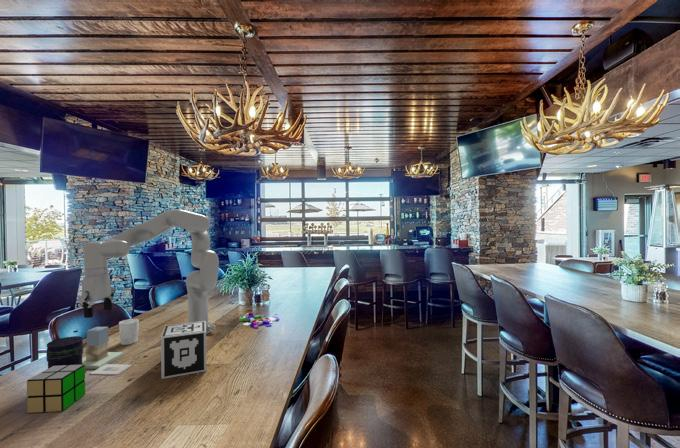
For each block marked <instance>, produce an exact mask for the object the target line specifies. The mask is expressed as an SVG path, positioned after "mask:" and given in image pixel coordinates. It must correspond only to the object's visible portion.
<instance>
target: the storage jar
mask: <svg viewBox="0 0 680 448" xmlns="http://www.w3.org/2000/svg"><path fill="white" fill-rule="evenodd" d="M78 332H79V331H78V330H73V333H78ZM83 355H84V338H83V336H77V335H75V336H66V337H61V338H57V339H53V340H51V341H49V342H48V343H46V361H47V369H49V368H50V367H52V366H61V365H68V366H69V365H83V363H82V358H83Z"/></svg>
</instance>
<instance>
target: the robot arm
mask: <svg viewBox="0 0 680 448" xmlns="http://www.w3.org/2000/svg"><path fill="white" fill-rule="evenodd" d="M210 226H211V222H210V219H209V218H208V217H207V216H205V215H203V214H200V213H197V212H196V213H195V212H193V211H192V212H191V211H188V210H184V209H180V208H179V209H178V208H177V209H167V210H165V211H163V212H161V213H159V214H157V215H155V216H153V217H151V218H150V219H148V220H146V221H144V222H141V223H140V224H137V225H135V226H133V227H130V228H128V229H126V230H124V231H122V232H120V233H118V234H115V235H114V236H112V237H110V238H108V239H106V240H105V241H88V242H85V243H83V246H82V251H83V266H84V267H83V268H84V270H83V271H84V276H83V278H82V283H81V295H80V296H79V297H78V298H77V301H78V303H79V305H80V306H81V308H82V309H83V314H84V315H83V316H84V318H85V319H87V318H89V319H90V318H93V317H94V311H93V310H94V308H93V304H94V302H97V301H100V300H103V310H104V311H111V310H113V302H112V301H113V300H114V298H113V297H114V295H115V293H116V292H115V291H116V288H114V287H112V285H111V279H110V275H109V270H108V268H109V267H108V258H109V259H110V258H111V259H112V258H114V259H118V258H119V259H121V258H124V257H126V256H127V255H128V254H129V253H130V251H131V247H132V246H135V245H137V244H140V243H145V242H149V241H151V240H155V239H156V238H157V237H160V236H161V235H162V234H165V233H166V232H168V231H170V230H171V229H174V228H180V229H184V230H185V231H186V232H188V233H189V235H190V237H191V241H192V242H191V244H192V245H191V253H190V254H191V255H190V263H191V265H192V266H193V267H194V268H197V269H199V270H193V271H190V272H189V273H188V275H187V276H186V279H185V287H186V291H187V315H188V316H187V323H191V322H199V321H206V335H207V334H209V333H211V332H212V331H214V330H216V327H217V326H216V324H211V321H209V294H208V292H211V291H212V290H214V289H215V288H216V286H217V283H218V277H219V266H220V260H219V259H220V258H219V256H218V254H217V253H216V252H215V251H213V250H211V238H210V234H209V232H208V229H210Z"/></svg>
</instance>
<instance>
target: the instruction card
mask: <svg viewBox="0 0 680 448" xmlns="http://www.w3.org/2000/svg"><path fill="white" fill-rule="evenodd" d="M131 367H133V364H117V363H116V364H114V363H113V364H111V363H109V364H106V365H104V366H102V367H100V368H98V369H94V370H93V371H91V372H90V373H89V375H94V376H95V375H97V376H98V375H100V376H101V375H102V376H103V375H104V376H119V375H120V374H122V373H123V372H124V371H127V370H128V369H130V368H131Z"/></svg>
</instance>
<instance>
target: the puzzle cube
mask: <svg viewBox="0 0 680 448" xmlns="http://www.w3.org/2000/svg"><path fill="white" fill-rule="evenodd" d="M85 379H86V369H85V365H69V366H68V365H61V366H52V367H50V368H49V369H48V368H47V369H44V370H43V371H42V372H40V373H38V374H36V375H34V376H32V377H29V378H28V379H27V380H26V395H27V397H26V404H27V405H26V407H27V408H26V412H27V413H26V414H36V413H37V414H38V413H41V414H42V413H58V412H60V413H61V412H64V411H65V410H66V409H68V408H69V407H71V406H72V405H73V404H74V403H75V402H77V401H78V400H80V399H81V398H82V397H83V396H85V395H86V380H85Z"/></svg>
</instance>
